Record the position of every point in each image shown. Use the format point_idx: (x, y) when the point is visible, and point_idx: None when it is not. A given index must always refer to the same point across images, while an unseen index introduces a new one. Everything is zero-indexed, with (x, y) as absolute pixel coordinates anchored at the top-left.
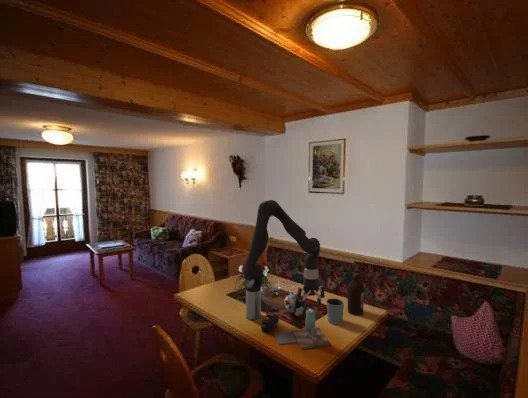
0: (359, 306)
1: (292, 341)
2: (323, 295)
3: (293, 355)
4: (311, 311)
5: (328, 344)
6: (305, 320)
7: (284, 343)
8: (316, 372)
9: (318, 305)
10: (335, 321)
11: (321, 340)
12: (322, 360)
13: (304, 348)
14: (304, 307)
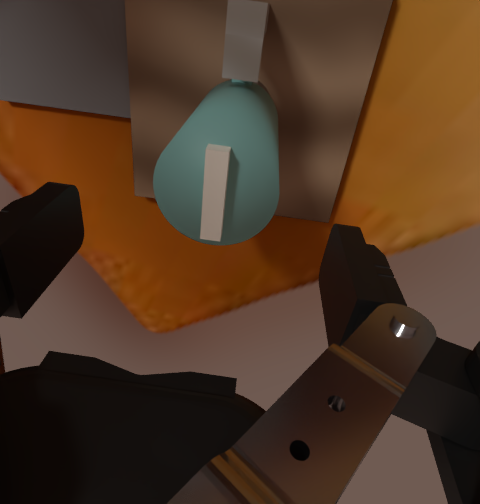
0: None
1: (100, 106)
2: (468, 469)
3: (85, 219)
4: (204, 233)
5: (311, 218)
6: (229, 9)
7: (42, 104)
8: (157, 332)
9: (321, 274)
10: None
11: (291, 177)
12: (214, 290)
13: None
14: (82, 240)
